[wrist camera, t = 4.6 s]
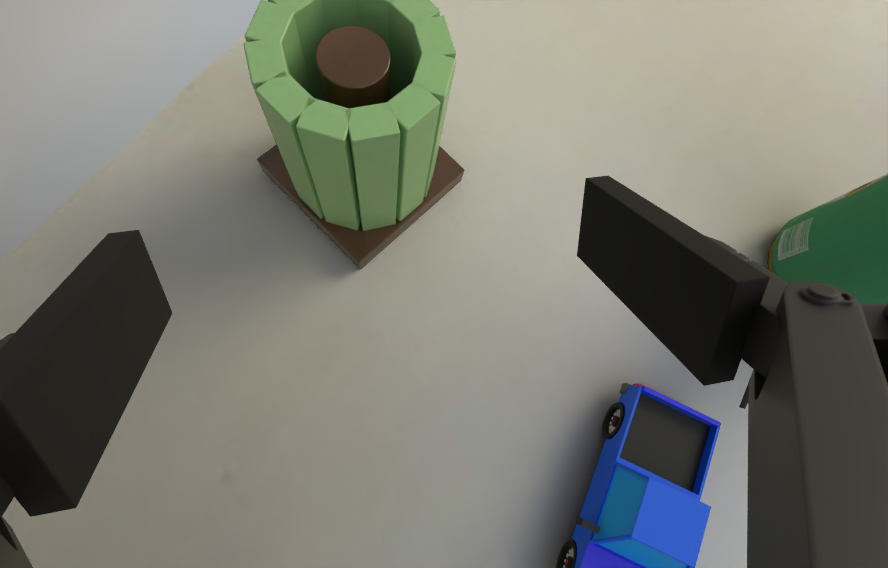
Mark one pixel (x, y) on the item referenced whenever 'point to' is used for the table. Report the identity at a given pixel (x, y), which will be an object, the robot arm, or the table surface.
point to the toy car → (645, 487)
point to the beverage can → (839, 244)
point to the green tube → (361, 128)
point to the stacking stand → (354, 85)
